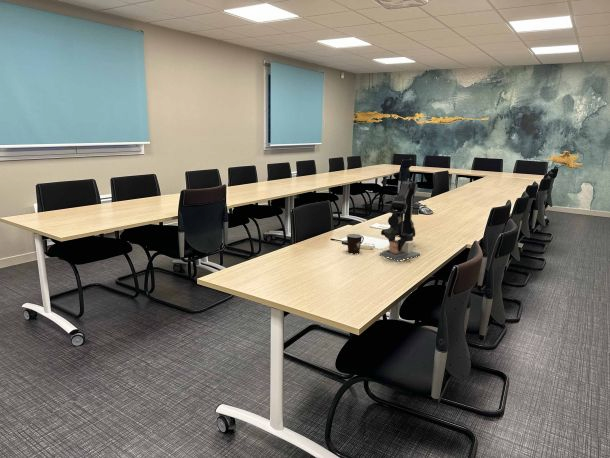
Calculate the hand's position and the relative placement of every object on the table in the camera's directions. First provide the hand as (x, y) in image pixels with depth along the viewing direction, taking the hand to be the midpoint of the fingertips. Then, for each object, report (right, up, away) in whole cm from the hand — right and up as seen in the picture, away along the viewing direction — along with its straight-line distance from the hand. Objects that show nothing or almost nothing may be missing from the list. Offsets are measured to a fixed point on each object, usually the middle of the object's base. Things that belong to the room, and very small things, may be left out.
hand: (395, 249), depth 237 cm
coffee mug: (-21, -2, +9) cm, 23 cm away
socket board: (+3, -4, +3) cm, 6 cm away
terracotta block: (0, -1, 0) cm, 1 cm away
